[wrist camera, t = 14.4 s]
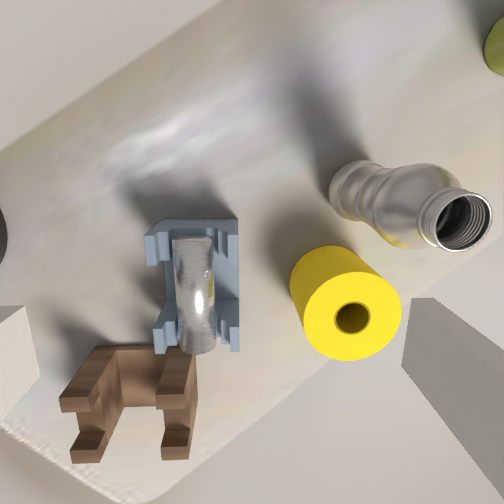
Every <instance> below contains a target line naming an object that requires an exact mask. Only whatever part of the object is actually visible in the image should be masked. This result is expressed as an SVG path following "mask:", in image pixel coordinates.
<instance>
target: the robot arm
mask: <svg viewBox="0 0 504 504" xmlns="http://www.w3.org/2000/svg"><path fill="white" fill-rule="evenodd" d="M6 248H7V229H6V224H5V220H4V217H3V215H2V212H1V210H0V263H1V262H2V260H3V258H4V255H5V252H6ZM401 366H402V367H403V369H404V370H405V371H406V373H407V374H408V375H409V377H410V378H411V379H412V380H413V382H414V383H415V384H416V386H417V387H418V388H419V390H420V391H421V392H422V393H423V395H424V396H425V397H426V399H427V400H428V401H429V402H430V404H431V405H432V407H433V408H434V409H435V410H436V412H437V413H438V414H439V416H440V417H441V418H442V420H443V421H444V422H445V423H446V425H447V426H448V427H449V429H450V430H451V431H452V432H453V434H454V435H455V436H456V438H457V439H458V440H459V442H460V443H461V444H462V446H463V447H464V448H465V449H466V451H467V452H468V453H469V455H470V456H471V457H472V459H473V460H474V461H475V463H476V464H477V465H478V466H479V468H480V469H481V470H482V472H483V473H484V474H485V476H486V477H487V478H488V479H489V481H490V482H491V483H492V485H493V486H494V487H495V488H496V490H497V491H498V492H499V494H500V495H501V496H502V498H503V499H504V350H503V349H501V348H500V347H499V346H497V345H496V344H495V343H493V342H492V341H491V340H489V339H488V338H487V337H485V336H484V335H482V334H481V333H480V332H478V331H477V330H476V329H475V328H473V327H472V326H470V325H469V324H468V323H466V322H465V321H464V320H462V319H461V318H460V317H458V316H457V315H456V314H454V313H453V312H452V311H450V310H449V309H448V308H446V307H445V306H444V305H442V304H441V303H440V302H438V301H437V300H435V299H434V298H412V300H411V307H410V313H409V320H408V327H407V333H406V340H405V346H404V352H403V359H402V365H401ZM39 377H40V372H39V367H38V363H37V358H36V354H35V349H34V345H33V340H32V336H31V331H30V327H29V322H28V318H27V313H26V309H25V306H0V421H1V420H2V419H3V418H4V417H5V416H6V414H7V413H8V412H9V411H10V410H11V409H12V408H13V407H14V405H15V404H16V403H17V402H18V401H19V400H20V399H21V397H22V396H23V395H24V394H25V393H26V392H27V391H28V389H29V388H30V387H31V386H32V385H33V384H34V383H35V382H36V380H37V379H38V378H39Z"/></svg>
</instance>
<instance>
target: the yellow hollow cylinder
mask: <svg viewBox="0 0 504 504" xmlns="http://www.w3.org/2000/svg"><path fill="white" fill-rule="evenodd" d="M289 288H290V293H291V296H292V299H293V302H294V304H295V307H296V310H297V312H298V315H299V318H300V320H301V323H302V326H303V328H304V331H305V334H306V336H307V338H308V340H309V342H310V343H311V345H312V346H313V347H314V348H315V349H316V350H317V351H318V352H320V353H321V354H323V355H325V356H327V357H329V358H332V359H336V360H343V361H351V360H358V359H362V358H365V357H368V356H370V355H372V354H374V353H376V352H378V351H379V350H380V349H382V348H383V347H384V346H385V345H386V344H387V343H388V342H389V341H390V340H391V339H392V337H393V336H394V334H395V333H396V330H397V329H398V326H399V323H400V319H401V304H400V300H399V297H398V295H397V293H396V291H395V290H394V288H393V287H392V286H391V285H390V284H389V283H388V282H387V281H386V280H384V279H383V278H382V277H381V276H380V275H379V274H378V273H376V272H375V271H374V270H373V269H372V268H371V267H369V266H368V265H367V264H366V263H365V262H364V261H363V260H361V259H360V258H359V257H358V256H357V255H356V254H354V253H353V252H352V251H350V250H348V249H346V248H343V247H340V246H322V247H319V248H316V249H313V250H311V251H310V252H308V253H306V254H305V255H304V256H303V257H302V258H301V259H300V260H299V261H298V262H297V263H296V265H295V266H294V268H293V270H292V273H291V276H290V282H289Z"/></svg>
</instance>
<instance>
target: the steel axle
mask: <svg viewBox="0 0 504 504" xmlns="http://www.w3.org/2000/svg"><path fill="white" fill-rule="evenodd" d="M172 249H173V263H174V277H175V290H176V304H177V318H178V332H179V345H180V349H181V350H182V351H183V352H185V353H187V354H193V355H197V354H204V353H207V352H209V351H211V350H212V349H214V347H215V346H216V318H215V289H214V261H213V237H212V236H211V235H208V234H201V233H190V234H182V235H178V236H175V237H173V238H172Z"/></svg>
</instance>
